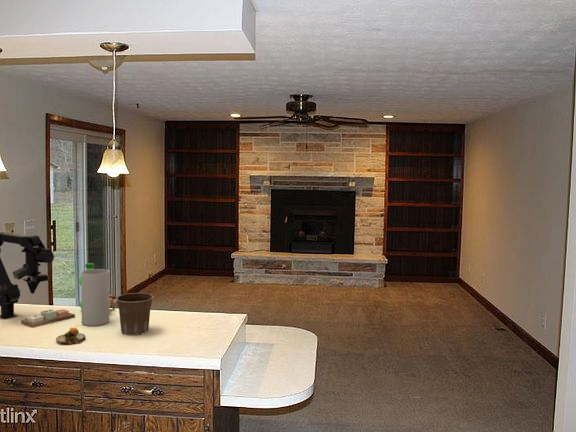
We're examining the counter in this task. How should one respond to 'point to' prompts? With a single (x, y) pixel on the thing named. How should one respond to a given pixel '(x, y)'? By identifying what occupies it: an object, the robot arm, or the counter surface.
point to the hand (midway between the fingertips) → (32, 293)
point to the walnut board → (47, 320)
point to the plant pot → (134, 312)
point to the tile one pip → (35, 318)
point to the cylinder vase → (95, 297)
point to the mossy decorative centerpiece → (71, 337)
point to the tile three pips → (62, 312)
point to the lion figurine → (111, 303)
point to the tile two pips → (48, 314)
